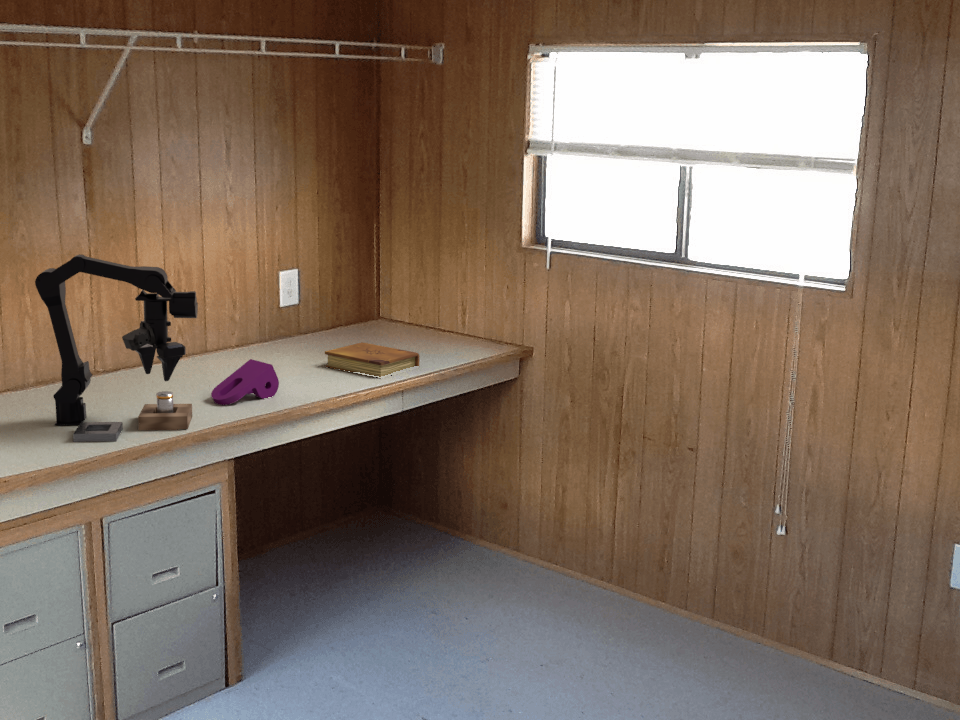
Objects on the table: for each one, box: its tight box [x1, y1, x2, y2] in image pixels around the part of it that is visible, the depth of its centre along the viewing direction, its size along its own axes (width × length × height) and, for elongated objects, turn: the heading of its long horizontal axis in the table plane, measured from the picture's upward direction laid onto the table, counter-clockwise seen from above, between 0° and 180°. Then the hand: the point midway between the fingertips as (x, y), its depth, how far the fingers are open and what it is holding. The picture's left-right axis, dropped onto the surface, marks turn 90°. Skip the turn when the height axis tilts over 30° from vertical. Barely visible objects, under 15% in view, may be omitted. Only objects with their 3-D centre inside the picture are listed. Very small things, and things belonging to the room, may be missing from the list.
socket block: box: [137, 403, 193, 431], centre depth 292 cm, size 12×12×4 cm
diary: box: [324, 342, 420, 377], centre depth 356 cm, size 23×19×6 cm
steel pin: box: [156, 390, 174, 413], centre depth 291 cm, size 4×4×8 cm
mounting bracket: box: [210, 358, 280, 406], centre depth 318 cm, size 9×8×18 cm
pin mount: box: [72, 421, 124, 443], centre depth 280 cm, size 10×10×2 cm
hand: (157, 377), depth 291 cm, fingers open, 9 cm apart
